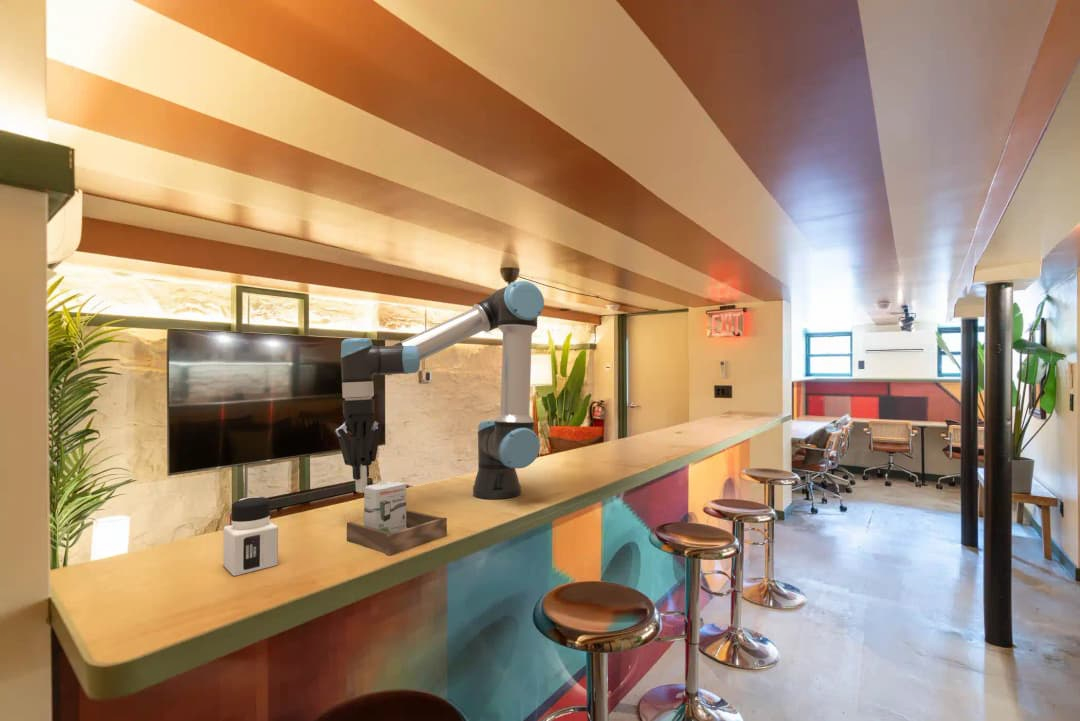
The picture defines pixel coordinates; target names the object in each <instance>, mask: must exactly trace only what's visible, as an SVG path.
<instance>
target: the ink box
mask: <svg viewBox="0 0 1080 721" xmlns="http://www.w3.org/2000/svg"><path fill="white" fill-rule="evenodd" d="M363 494H364V497H363V498H364V499H363V507H364V508H363V525H364V526H368V527H371V528H375V529H378V530H382V531H386V532H389V533H394V532H398V531H401V530H404V529H407V528H406V510H407V483H405V482H401V481H396V480H392V481H386V482H379V483H375V484H369V485H367V487H365V492H363Z"/></svg>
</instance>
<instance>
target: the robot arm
mask: <svg viewBox="0 0 1080 721" xmlns="http://www.w3.org/2000/svg"><path fill="white" fill-rule="evenodd" d="M544 299H545V298H544V296H543V293H542V291H541V290H540V289H539V288H538V287H537V286H536V285H535V284H534V283H533V282H530V281H526V280H519V281H513V282H511V283H510V284H508V285H506V286H505V287H502V288H499V289H497V290H496V291H495V292H493V293H492V294H490V295H489V296H487V297H486V298H483V299H482V300H481V301H479V302H477V303H475V304H473V305H472V308H471V309H469V310H467V311H465V312H462V313H461V314H458V315H456V316H453V317H452V318H449V319H448V320H445V321H443V322H441V323H439V324H436V325H434V326H432V327H430V328H428V329H426V330H423V331H421V332H418V333H417V334H414V335H412V336H410V337H407V339H404V340H401V341H400V342H397V343H396V344H395V343H394V344H393V345H383V346H381V345H379V346H378V345H373V342H372V339H371V338H368V337H367V338H366V337H363V338H362V337H349V338H345V339H344V340H342V341H341V342H340V343H341V344H340V366H341V371H340V372H341V389H342V391H341V392H342V398H343V399H344V400H343V401H342V414H343V420H342V425H340V426H339V427H338V428H334V430H333V432H334V434H335V435H336V437H337V439H338V443H339V446H340V450H341V455H342V458H343V459H342V460H343V462H344V465H345V466H350V467H351V468H352V479H353V480H355V492H356V493H362V494H364V492H365V487H367V486H368V478H369V477H370V467H369V466H371V465H372V463H373V462H375V461H376V460H377V454H378V448H379V442H380V435H381V432H382V430H383V427H384V425H383V423H379V422H378V421H376V419H375V416H374V413H375V400H374V399H373V397H374V395H375V393H374V391H375V390H374V389H375V388H374V375H376V376H377V375H378V376H379V375H385V376H392V375H404V374H405V375H408V374H416V373H418V372H419V370H420V366H421V361H423V360H425V359H427V358H429V357H431V356H434V355H435V354H438V353H440V352H441V351H444V350H446V349H448V348H450V347H452V346H454V345H456V344H458V343H461V342H462V341H465V340H467V339H469V338H472V337H473V336H475V335H477V334H479V333H481V332H485V333H488V332H491V331H492V330H496V329H499V330H500V331H501V333H502V350H501V352H502V353H501V356H502V357H501V376H500V378H501V379H500V380H501V381H500V385H501V387H500V409H499V410H500V414H499V415H498V416H497V417H496V418H495V419H494V420H485V421H481V422H480V423H479V424H478V426H477V427H478V428H477V453H478V456H477V457H478V459H477V461H478V462H477V463H478V465H477V466H478V467H477V468H478V470H477V473H476V477H475V481H474V484H473V486H472V496H473V497H475V498H480V499H484V500H485V499H487V500H501V499H503V500H504V499H509V498H514V497H518V496H520V495H521V494H522V487H521V486H522V485H521V483H520V480H519V477H518V472H517V469H524V468H526V467H528V466H530V465H531V464H532V463H533V462H535V460H536V459H537V458H538V455H539V453H540V448H541V444H540V443H541V442H540V439H539V436H538V435H537V434H536V432H535V420H534V419H533V418H532V416H531V415H530V408H531V407H530V406H531V405H530V402H531V376H532V375H531V372H532V371H531V370H532V368H531V367H532V339H533V337H532V336H533V333H534V332H535V331H536V330H537V329H538V317H540V315H542V313H543V311H544V308H545V306H544V305H545V300H544Z"/></svg>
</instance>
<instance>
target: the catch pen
mask: <svg viewBox="0 0 1080 721" xmlns="http://www.w3.org/2000/svg"><path fill="white" fill-rule="evenodd" d="M447 520H448V518H447V517H440V516H436V515H432V514H427V513H423V512H420V511H419V512H418V511H414V510H411V509H410V510H409V509H406V529H404V530H401V531H398V532H394V533H389V532H386V531H382V530H378V529H375V528H371V527H368V526H364V524H359V523H356V522H352V521H349V522H346V541H347V542H350V543H353V544H355V545H359V546H362V547H365V548H368V549H372V550H375V551H378V552H380V553H383V554H385V556H388V557H389V556H392V555H395V554H398V553H400V552H403V551H406V550H410V549H412V548H416V547H417V546H421V545H423V544H427V543H429V542H433V541H435V540H438V539H441V538H443V537H446V536H448V535H447V534H448V521H447Z"/></svg>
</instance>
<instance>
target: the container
mask: <svg viewBox="0 0 1080 721" xmlns="http://www.w3.org/2000/svg"><path fill="white" fill-rule="evenodd" d="M270 519H271V500H270V499H269V498H268V497H265V496H252V497H251V496H250V497H245V498H241V499H238V500H236V501H234V502H233V503H232V504H231V524H229V525H226V526H224V527H223V536H222V537H223V540H222V541H223V544H222V545H223V548H222V551H223V552H222V554H223V555H222V566H223V567H224V568H225V570H227V571H228V572H229V573H230V574H231V575H232V576H234V577H237V576H241V575H244V574H248V573H252V572H256V571H259V570H264V569H267V568H271V567H276V566H278V563H279V559H278V558H279V555H278V554H279V526H278V525H276V523H273V522H271V521H270Z"/></svg>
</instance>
